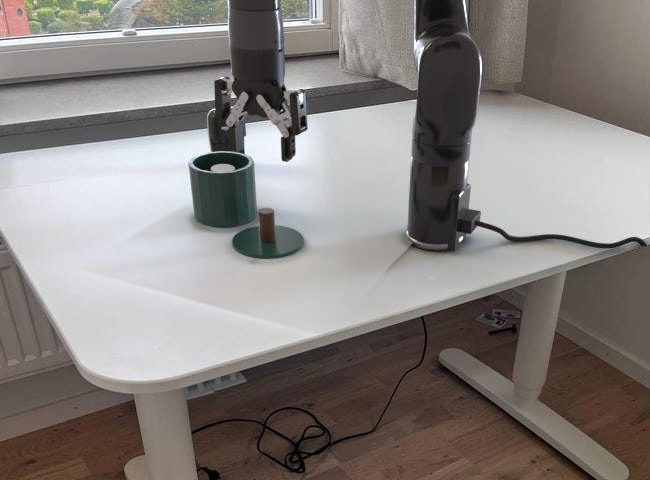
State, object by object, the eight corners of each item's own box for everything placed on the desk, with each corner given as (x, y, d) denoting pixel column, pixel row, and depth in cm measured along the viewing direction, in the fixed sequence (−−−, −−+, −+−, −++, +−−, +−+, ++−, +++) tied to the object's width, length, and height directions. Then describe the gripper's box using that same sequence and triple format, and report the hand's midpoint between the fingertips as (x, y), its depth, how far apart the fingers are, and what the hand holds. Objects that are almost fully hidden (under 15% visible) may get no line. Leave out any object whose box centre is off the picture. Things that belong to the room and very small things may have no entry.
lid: (316, 239, 128) (315, 204, 124) (281, 267, 119) (279, 231, 116) (257, 226, 131) (254, 191, 128) (218, 252, 123) (214, 216, 119)
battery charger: (217, 173, 151) (211, 114, 144) (210, 166, 153) (204, 108, 147) (250, 167, 154) (246, 109, 148) (243, 161, 157) (239, 104, 150)
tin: (268, 213, 136) (265, 157, 130) (235, 235, 128) (230, 177, 122) (218, 202, 139) (212, 147, 134) (182, 223, 131) (175, 166, 126)
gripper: (197, 39, 107) (208, 154, 116) (287, 53, 103) (291, 171, 112) (228, 30, 113) (236, 140, 122) (314, 43, 109) (316, 156, 118)
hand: (262, 155), depth 117 cm, fingers open, 8 cm apart
